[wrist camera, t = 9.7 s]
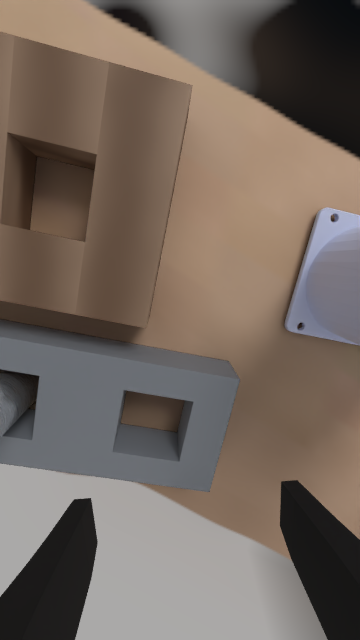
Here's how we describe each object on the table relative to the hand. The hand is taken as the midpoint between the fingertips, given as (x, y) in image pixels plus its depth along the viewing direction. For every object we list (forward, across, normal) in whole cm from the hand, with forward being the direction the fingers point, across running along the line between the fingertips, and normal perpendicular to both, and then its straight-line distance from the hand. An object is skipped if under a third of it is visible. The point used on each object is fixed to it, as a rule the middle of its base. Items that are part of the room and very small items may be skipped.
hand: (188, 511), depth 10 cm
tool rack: (+9, +6, -1) cm, 11 cm away
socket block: (+9, +6, -13) cm, 17 cm away
